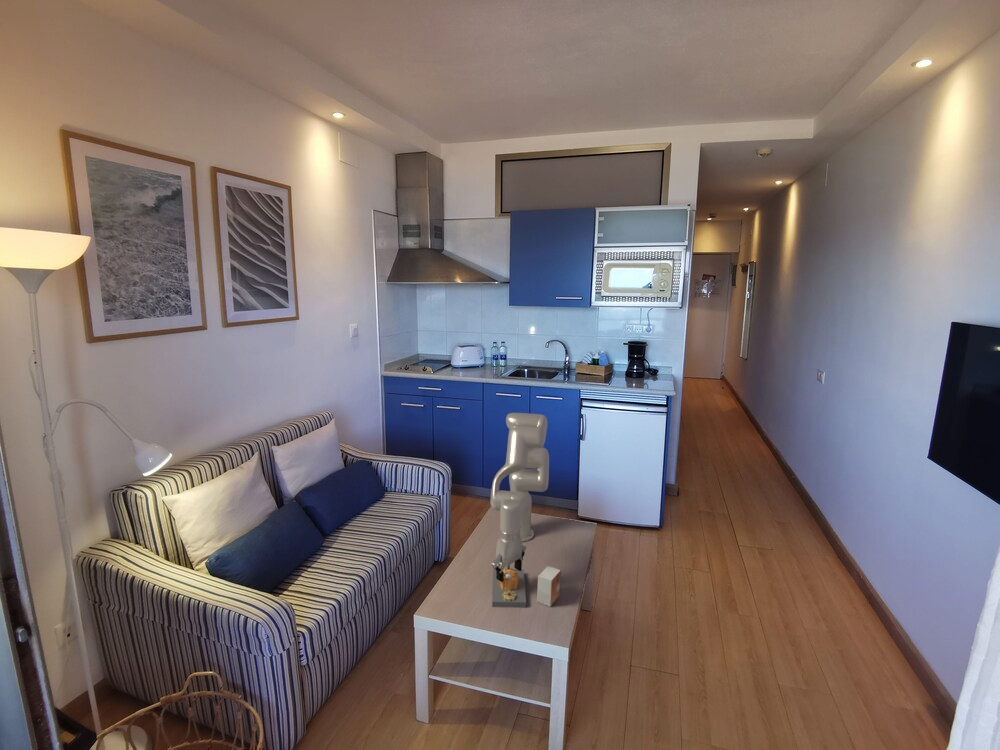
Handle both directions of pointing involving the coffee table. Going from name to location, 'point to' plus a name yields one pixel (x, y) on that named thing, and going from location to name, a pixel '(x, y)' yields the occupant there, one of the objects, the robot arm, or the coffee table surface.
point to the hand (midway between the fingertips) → (509, 574)
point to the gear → (510, 580)
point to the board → (509, 592)
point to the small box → (548, 586)
